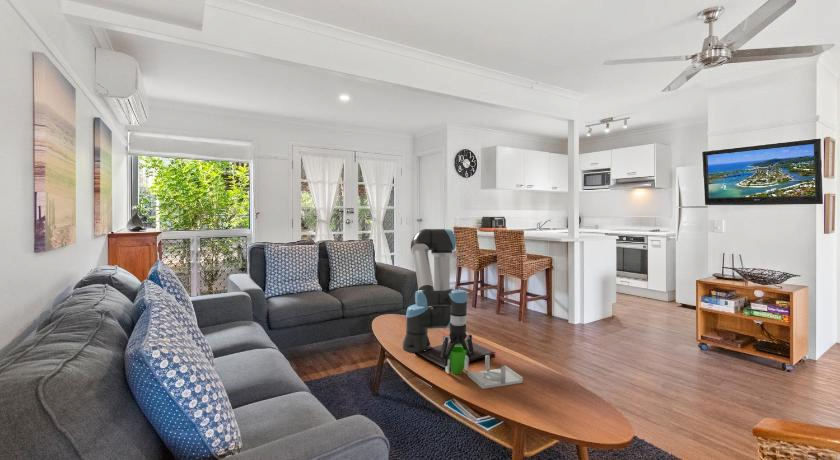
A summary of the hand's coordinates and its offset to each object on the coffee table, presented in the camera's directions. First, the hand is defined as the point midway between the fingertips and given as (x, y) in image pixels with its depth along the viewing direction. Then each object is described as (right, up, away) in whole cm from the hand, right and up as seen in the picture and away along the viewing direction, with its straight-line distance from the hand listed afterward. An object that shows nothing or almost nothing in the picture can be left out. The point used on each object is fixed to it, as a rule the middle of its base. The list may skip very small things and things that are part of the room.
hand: (456, 371), depth 188 cm
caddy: (+16, -1, -7) cm, 18 cm away
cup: (0, -1, 0) cm, 1 cm away
